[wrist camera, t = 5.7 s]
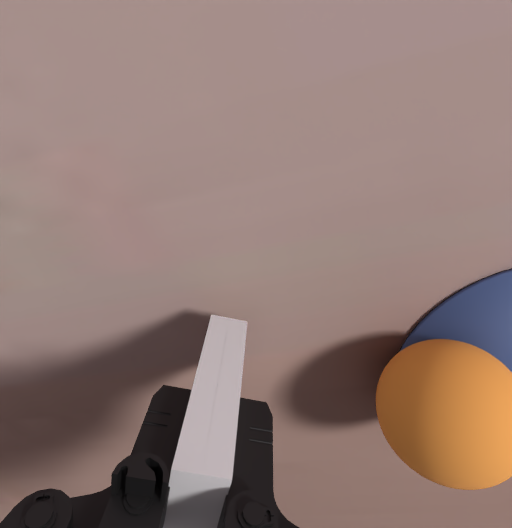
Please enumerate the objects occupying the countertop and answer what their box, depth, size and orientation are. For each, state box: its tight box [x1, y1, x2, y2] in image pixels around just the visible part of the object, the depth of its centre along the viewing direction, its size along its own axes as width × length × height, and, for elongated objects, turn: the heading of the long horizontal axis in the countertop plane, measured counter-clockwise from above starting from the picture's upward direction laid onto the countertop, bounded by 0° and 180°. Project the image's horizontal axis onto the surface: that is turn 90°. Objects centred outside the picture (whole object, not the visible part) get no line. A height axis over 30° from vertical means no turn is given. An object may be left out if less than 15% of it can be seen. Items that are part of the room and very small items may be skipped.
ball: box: [376, 339, 512, 490], centre depth 14 cm, size 6×6×6 cm
